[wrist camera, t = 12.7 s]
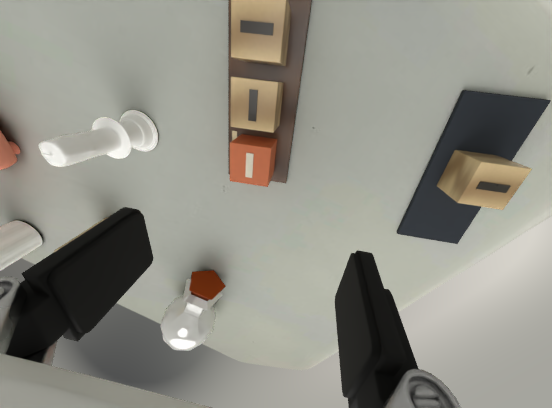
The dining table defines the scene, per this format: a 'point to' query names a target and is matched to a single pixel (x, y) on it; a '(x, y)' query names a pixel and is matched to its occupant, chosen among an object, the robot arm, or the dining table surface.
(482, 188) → the tan block
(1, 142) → the teapot
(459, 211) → the near mat
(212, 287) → the potion bottle
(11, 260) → the cup
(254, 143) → the orange striped cube
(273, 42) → the tan wooden block
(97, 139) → the candle
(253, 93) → the far letter i
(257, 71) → the far board
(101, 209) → the dining table surface
